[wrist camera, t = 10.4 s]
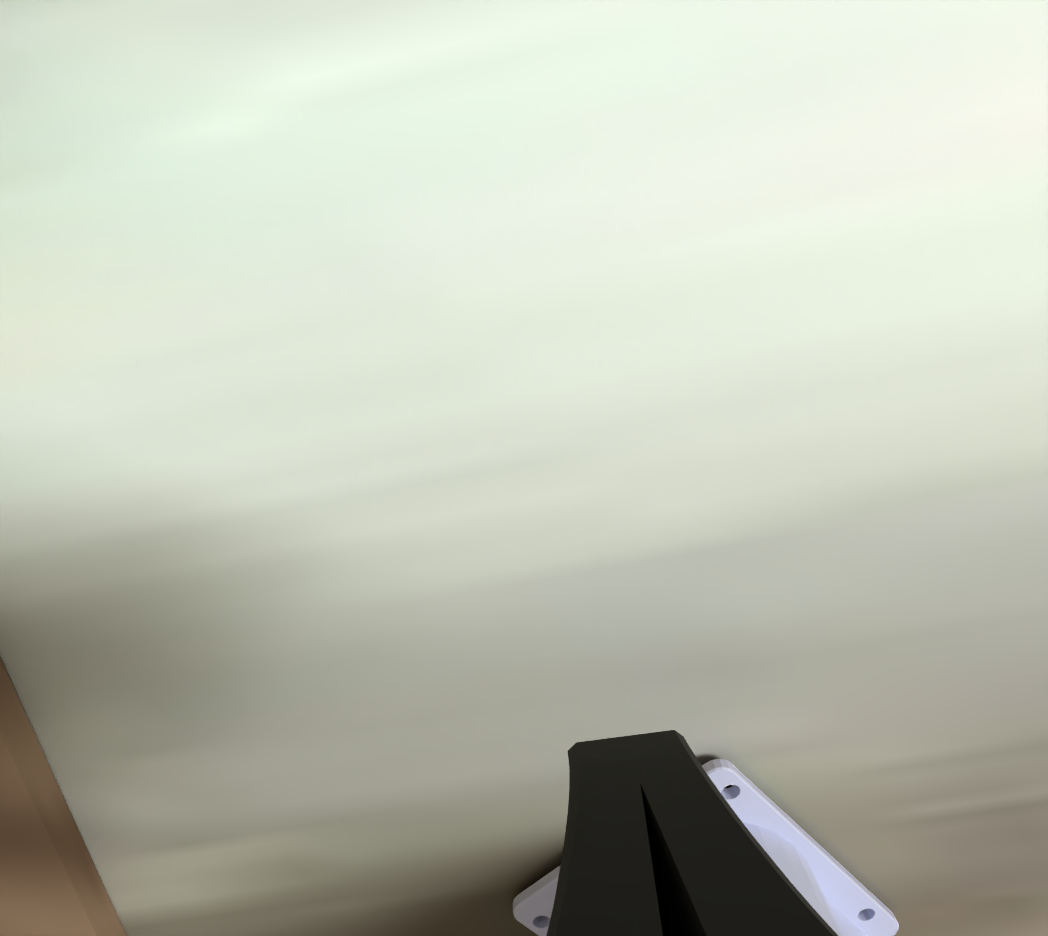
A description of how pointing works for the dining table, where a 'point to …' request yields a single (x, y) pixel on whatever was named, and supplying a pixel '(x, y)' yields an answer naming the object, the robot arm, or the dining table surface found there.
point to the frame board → (42, 842)
